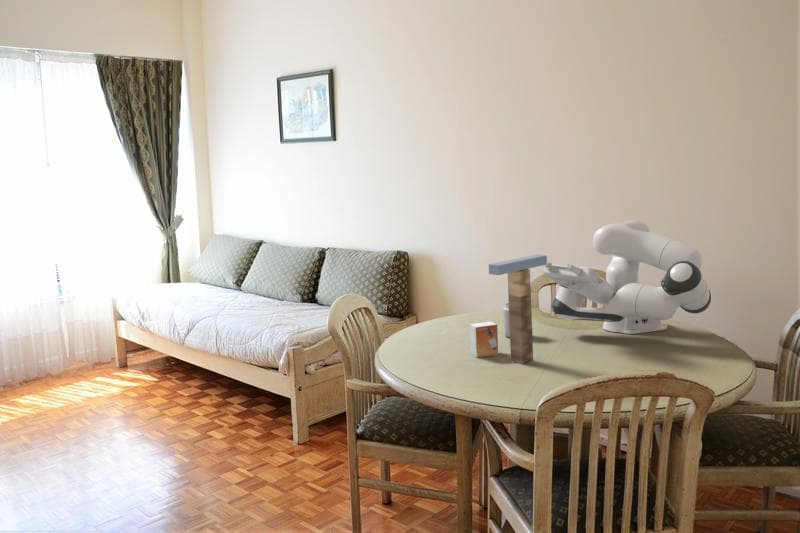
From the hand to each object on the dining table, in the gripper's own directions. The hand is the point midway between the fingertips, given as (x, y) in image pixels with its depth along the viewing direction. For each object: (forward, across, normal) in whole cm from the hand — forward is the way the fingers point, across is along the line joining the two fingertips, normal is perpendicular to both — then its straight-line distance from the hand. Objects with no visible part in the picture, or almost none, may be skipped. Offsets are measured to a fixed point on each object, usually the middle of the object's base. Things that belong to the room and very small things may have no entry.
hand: (557, 265), depth 240 cm
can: (-16, +23, -24) cm, 37 cm away
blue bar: (+16, 0, -8) cm, 18 cm away
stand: (+1, 0, -34) cm, 34 cm away
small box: (+4, +15, -35) cm, 39 cm away
